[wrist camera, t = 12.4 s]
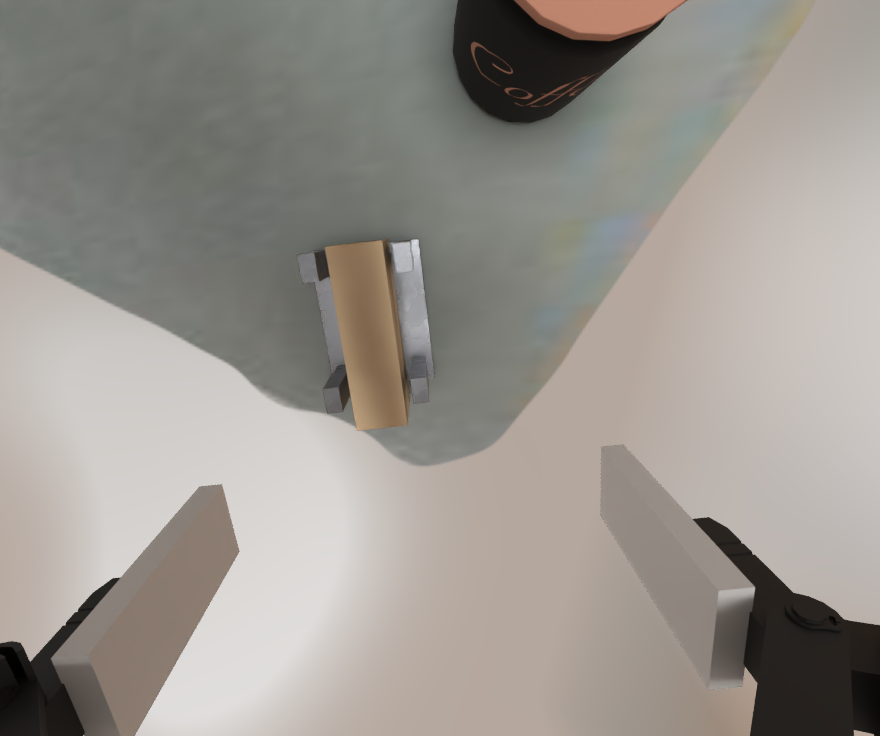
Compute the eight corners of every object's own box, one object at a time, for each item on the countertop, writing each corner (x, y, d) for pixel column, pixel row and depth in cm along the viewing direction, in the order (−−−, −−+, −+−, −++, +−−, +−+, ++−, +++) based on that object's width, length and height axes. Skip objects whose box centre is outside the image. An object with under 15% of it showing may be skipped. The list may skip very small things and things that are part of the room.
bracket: (336, 385, 42) (320, 414, 36) (312, 251, 39) (288, 255, 32) (434, 374, 42) (436, 401, 36) (418, 239, 39) (417, 240, 32)
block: (365, 403, 42) (356, 430, 36) (339, 244, 38) (324, 246, 32) (409, 398, 42) (407, 424, 36) (388, 238, 38) (381, 240, 32)
